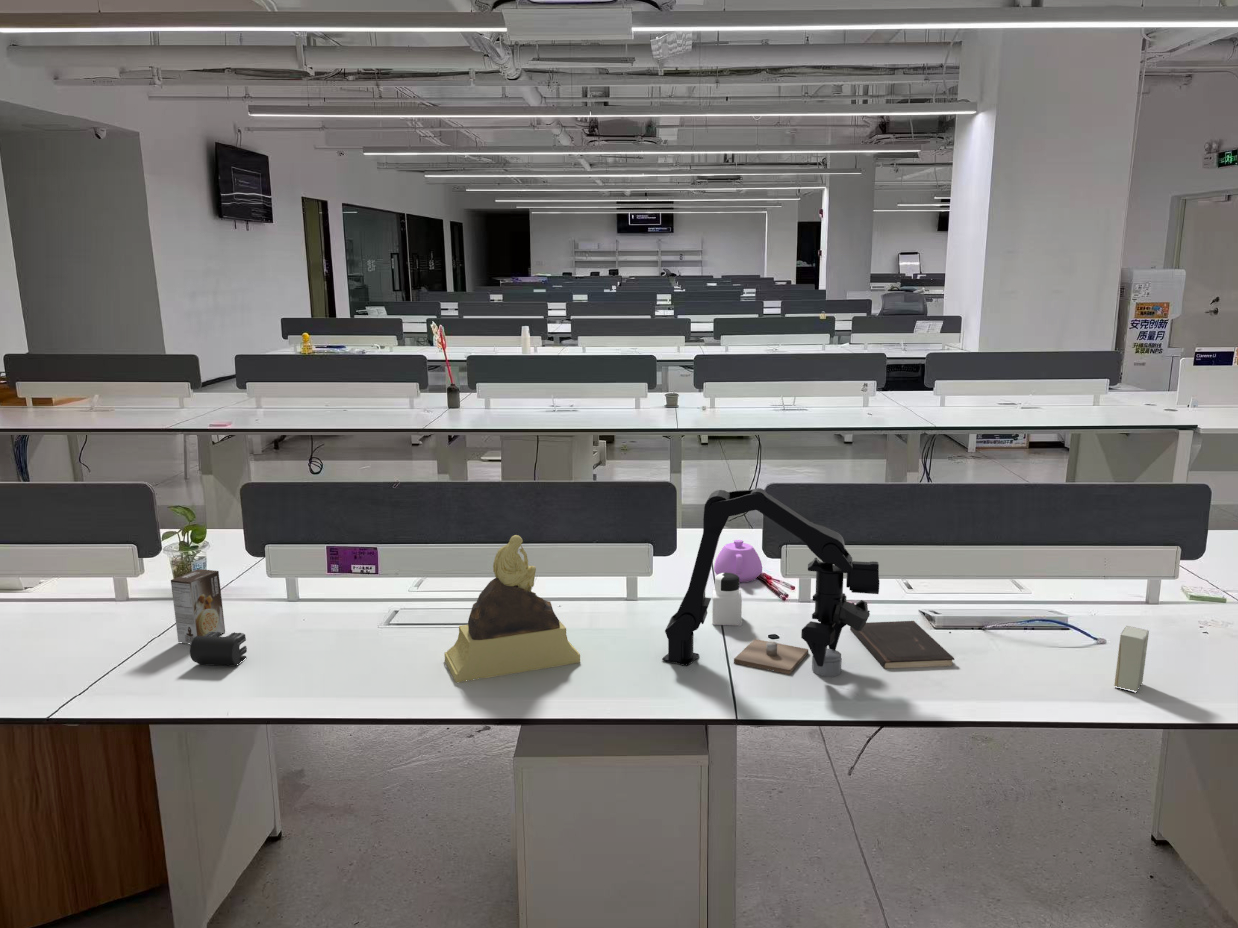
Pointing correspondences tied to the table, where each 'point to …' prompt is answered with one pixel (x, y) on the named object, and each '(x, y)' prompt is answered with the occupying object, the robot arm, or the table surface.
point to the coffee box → (197, 604)
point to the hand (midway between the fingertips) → (826, 658)
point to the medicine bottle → (727, 600)
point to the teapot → (739, 561)
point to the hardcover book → (902, 645)
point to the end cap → (218, 649)
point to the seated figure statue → (509, 625)
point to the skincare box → (1131, 658)
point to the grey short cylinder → (828, 664)
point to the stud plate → (771, 656)
